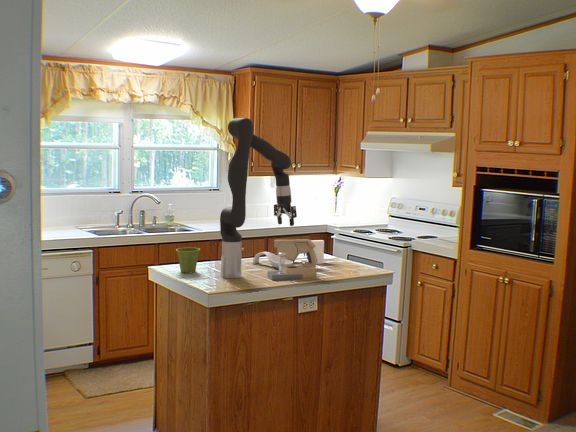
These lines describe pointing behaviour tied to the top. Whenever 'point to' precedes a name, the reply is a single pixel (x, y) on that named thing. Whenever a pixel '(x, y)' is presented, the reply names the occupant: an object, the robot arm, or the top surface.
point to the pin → (281, 260)
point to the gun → (297, 250)
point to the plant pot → (188, 259)
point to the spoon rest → (271, 259)
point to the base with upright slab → (319, 250)
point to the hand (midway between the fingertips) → (286, 224)
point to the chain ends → (294, 272)
